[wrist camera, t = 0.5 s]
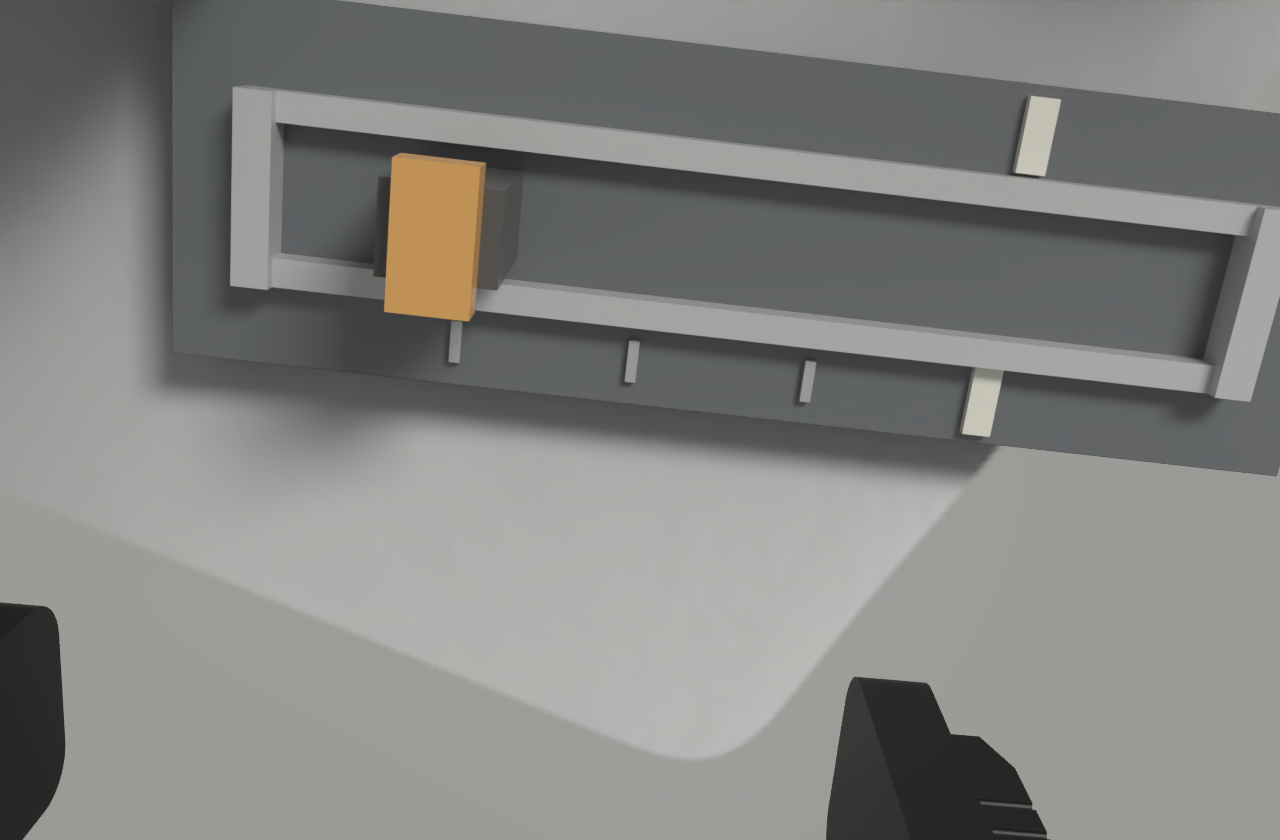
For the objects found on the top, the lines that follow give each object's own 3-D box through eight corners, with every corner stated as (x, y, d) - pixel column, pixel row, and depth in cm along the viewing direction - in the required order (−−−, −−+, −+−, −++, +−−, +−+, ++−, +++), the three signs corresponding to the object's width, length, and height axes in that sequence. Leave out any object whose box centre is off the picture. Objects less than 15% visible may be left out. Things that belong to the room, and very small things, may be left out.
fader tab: (414, 136, 33) (370, 154, 27) (525, 148, 33) (502, 169, 28) (406, 267, 34) (363, 309, 29) (514, 280, 34) (490, 324, 29)
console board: (199, -16, 33) (153, -22, 30) (1337, 120, 34) (1405, 128, 31) (197, 335, 36) (156, 363, 33) (1244, 453, 37) (1297, 491, 34)
